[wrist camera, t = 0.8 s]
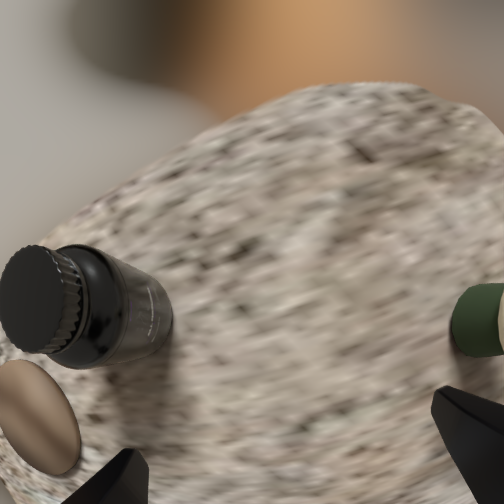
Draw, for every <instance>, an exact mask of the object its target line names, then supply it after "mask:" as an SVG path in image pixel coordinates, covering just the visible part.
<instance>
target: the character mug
mask: <svg viewBox="0 0 504 504" xmlns="http://www.w3.org/2000/svg"><path fill="white" fill-rule="evenodd" d="M452 333H453V336H454V338H455V341H456V344H457V346H458V347H459V349H460V350H461V351H462V352H463V353H464V354H465V355H466V356H471V357H476V358H478V357H491V356H498V355H504V283H490V284H479V285H476V286H473V287H469V288H468V289H467V290H466V291H465V292H464V293H463V294H462V295H461V297H460V298H459V299H458V302H457V304H456V307H455V309H454V312H453V316H452Z"/></svg>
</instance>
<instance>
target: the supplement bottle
mask: <svg viewBox="0 0 504 504" xmlns="http://www.w3.org/2000/svg"><path fill="white" fill-rule="evenodd" d="M0 321H1V323H2V328H3V330H4V331H5V333H6V336H7V337H8V338H9V339H10V341H11V343H13V344H14V345H15V346H16V348H18V349H21V350H22V351H23V352H29V353H31V354H39V353H42V354H46V355H47V356H48V357H49V358H50V359H52V360H53V361H55V362H56V363H58V364H59V365H61V366H64V367H66V368H70V369H76V370H84V369H92V368H97V367H102V366H107V365H112V364H117V363H122V362H127V361H131V360H136V359H139V358H143V357H146V356H148V355H150V354H152V353H154V352H155V351H156V350H157V349H158V348H160V346H161V345H162V344H163V343H164V341H165V339H166V338H167V336H168V333H169V330H170V327H171V321H172V311H171V305H170V301H169V298H168V296H167V293H166V292H165V290H164V288H163V287H162V286H161V284H160V283H159V282H158V281H157V280H155V279H154V278H153V277H152V276H150V275H148V274H146V273H145V272H143V271H141V270H139V269H137V268H135V267H133V266H130V265H128V264H126V263H124V262H122V261H120V260H118V259H116V258H114V257H112V256H110V255H109V254H107V253H105V252H103V251H101V250H99V249H96V248H94V247H91V246H88V245H83V244H72V245H67V246H64V247H61V248H59V249H57V250H51V249H49V248H46V247H43V246H39V245H33V246H30V245H28V246H27V247H25V248H21V249H20V251H17V252H16V253H15V254H14V256H12V257H11V258H10V260H9V262H8V263H7V264H6V266H5V269H4V271H3V273H2V277H1V279H0Z"/></svg>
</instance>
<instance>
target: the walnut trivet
mask: <svg viewBox="0 0 504 504" xmlns="http://www.w3.org/2000/svg"><path fill="white" fill-rule="evenodd" d="M0 427H1V429H2V431H3V433H4V435H5V437H6V438H7V440H8V442H9V443H10V445H11V446H12V447H13V449H14V450H15V451H16V452H17V454H18V455H19V456H20V457H21V458H22V459H23V460H24V461H25V462H27V463H28V464H29V465H30V466H32V467H33V468H35V469H37V470H39V471H41V472H43V473H46V474H50V475H59V474H62V473H65V472H66V471H68V470H69V469H71V468H72V467H73V466H74V465H75V464H76V462H77V461H78V459H79V455H80V449H81V439H80V432H79V428H78V424H77V421H76V417H75V415H74V412H73V410H72V408H71V406H70V404H69V401H68V400H67V398H66V396H65V394H64V393H63V391H62V390H61V388H60V387H59V385H58V384H57V383H56V382H55V380H54V379H53V378H52V377H51V376H50V375H49V374H48V373H47V372H46V371H45V370H44V369H42V368H41V367H40V366H38V365H36V364H35V363H33V362H30V361H27V360H11V361H8V362H6V363H4V364H3V365H2V366H1V367H0Z"/></svg>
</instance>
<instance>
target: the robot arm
mask: <svg viewBox="0 0 504 504" xmlns="http://www.w3.org/2000/svg"><path fill="white" fill-rule="evenodd" d="M431 414H432V417H433V419H434V421H435V423H436V425H437V427H438V430H439V432H440V434H441V436H442V439H443V441H444V443H445V446H446V448H447V450H448V452H449V453H450V455H451V457H452V459H453V460H454V462H455V464H456V465H457V467H458V469H459V471H460V472H461V474H462V476H463V478H464V479H465V481H466V483H467V485H468V486H469V488H470V490H471V492H472V494H473V495H474V497H475V499H476V501H477V503H478V504H504V405H502V404H499V403H496V402H493V401H490V400H487V399H484V398H481V397H478V396H476V395H473V394H470V393H467V392H464V391H462V390H459V389H456V388H453V387H451V386H443V387H441V388H439V389H437V390H436V391H435V392H434V396H433V401H432V405H431ZM148 482H149V467H148V464H147V462H146V461H145V460H144V458H143V457H142V455H141V454H140V452H139V451H138V450H137V449H135V448H124V449H123V450H121V451H120V452H119V453H118V454H117V455H116V456H115V457H114V458H113V459H112V460H110V461H109V462H108V463H107V464H106V465H105V466H104V467H103V468H102V469H100V470H99V471H98V472H97V473H96V474H95V475H94V476H93V477H91V478H90V479H89V480H88V481H87V482H86V483H85V484H83V485H82V486H81V487H80V488H79V489H78V490H76V491H75V492H74V493H73V494H72V495H71V496H69V497H68V498H67V499H66V500H65V501H63V502H62V503H61V504H148Z"/></svg>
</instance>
